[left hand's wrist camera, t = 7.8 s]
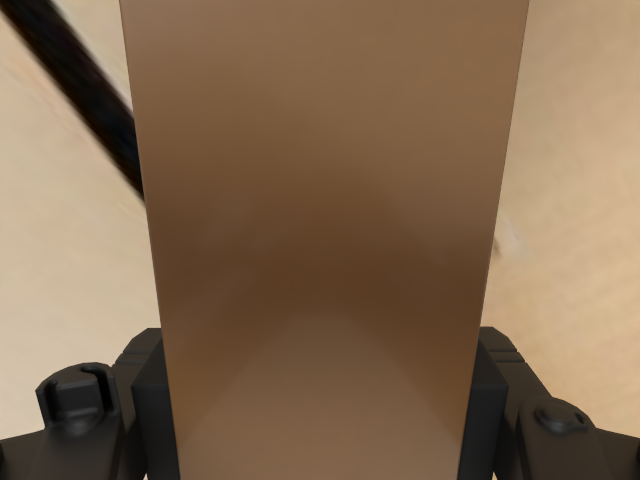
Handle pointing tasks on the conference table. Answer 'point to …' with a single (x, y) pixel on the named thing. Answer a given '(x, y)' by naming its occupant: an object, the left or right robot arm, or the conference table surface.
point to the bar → (321, 224)
